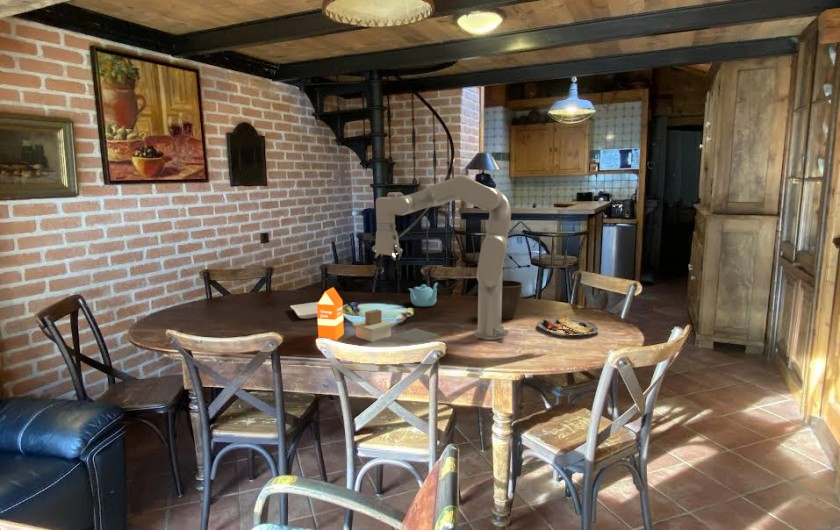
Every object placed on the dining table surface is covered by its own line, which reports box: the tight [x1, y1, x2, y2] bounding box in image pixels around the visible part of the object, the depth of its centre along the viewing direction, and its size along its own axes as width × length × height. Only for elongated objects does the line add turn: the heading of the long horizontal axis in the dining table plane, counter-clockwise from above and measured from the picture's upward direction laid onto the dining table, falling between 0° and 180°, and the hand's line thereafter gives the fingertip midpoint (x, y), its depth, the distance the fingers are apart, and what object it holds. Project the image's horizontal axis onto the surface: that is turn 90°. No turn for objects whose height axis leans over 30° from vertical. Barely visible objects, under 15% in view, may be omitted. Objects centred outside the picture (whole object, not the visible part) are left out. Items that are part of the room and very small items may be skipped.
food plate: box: [536, 315, 600, 337], centre depth 221 cm, size 25×23×4 cm
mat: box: [391, 327, 439, 343], centre depth 214 cm, size 14×14×1 cm
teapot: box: [407, 282, 439, 308], centre depth 267 cm, size 15×15×10 cm
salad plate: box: [290, 301, 319, 320], centre depth 251 cm, size 21×21×3 cm
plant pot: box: [501, 279, 523, 320], centre depth 240 cm, size 15×15×16 cm
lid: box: [352, 309, 395, 332], centre depth 211 cm, size 12×12×6 cm
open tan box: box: [355, 326, 392, 343], centre depth 212 cm, size 10×10×5 cm
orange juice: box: [317, 286, 345, 341], centre depth 213 cm, size 8×9×20 cm
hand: (387, 268), depth 218 cm, fingers open, 9 cm apart
